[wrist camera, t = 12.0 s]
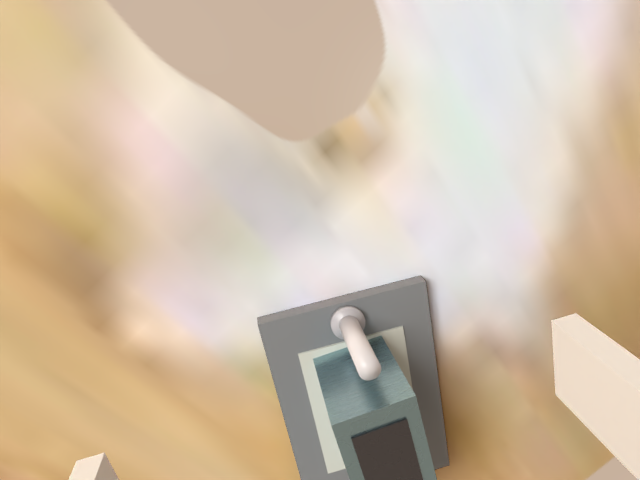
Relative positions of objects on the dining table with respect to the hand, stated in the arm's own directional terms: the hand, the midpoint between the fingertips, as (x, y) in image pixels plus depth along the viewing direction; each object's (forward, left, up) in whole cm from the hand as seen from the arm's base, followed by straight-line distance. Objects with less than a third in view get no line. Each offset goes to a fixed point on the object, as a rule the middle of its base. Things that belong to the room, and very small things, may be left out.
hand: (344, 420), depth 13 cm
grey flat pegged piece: (-3, +18, -23) cm, 30 cm away
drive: (-3, +18, -22) cm, 29 cm away
